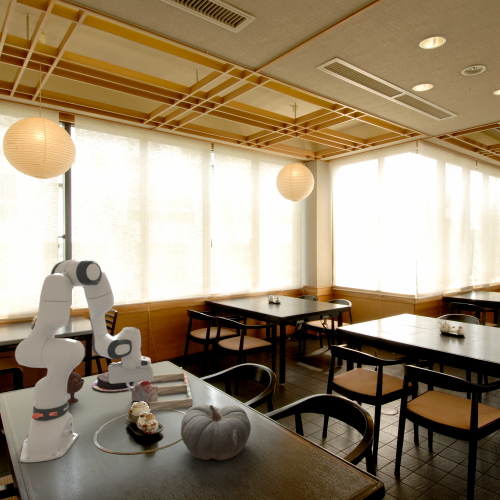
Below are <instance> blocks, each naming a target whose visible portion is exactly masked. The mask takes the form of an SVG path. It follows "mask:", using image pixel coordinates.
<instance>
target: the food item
mask: <svg viewBox="0 0 500 500" xmlns="http://www.w3.org/2000/svg"><path fill="white" fill-rule="evenodd" d="M151 383H152V382H150V380H147V381H143V382H142V381H139V382H137V385H136V386H135V391H131V400H132V401H135V402H137V401H144V402H146V403H147V404H148V405H147V406H149V402H156V401H158V397H159V395H158V387H159V386H157V385H153V384H151ZM132 386H134V384H132Z"/></svg>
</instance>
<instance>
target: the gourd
mask: <svg viewBox="0 0 500 500" xmlns="http://www.w3.org/2000/svg"><path fill="white" fill-rule="evenodd" d="M180 426H181V427H180V438H181V439H182V442H183V444H184V445H185V447H186V449H187V451H188V452H189V453H190V454H191V455H192V456H193V457H195V458H197V459H201V460H204V461H208V460H211V459H215V460H218V461H224V460H225V461H226V460H228V459H231V458H233V457H235V456H236V455H238V454H239V453H241V451H242V450H244V448H245V447H246V444H247V443H248V440H249V437H250V435H251V430H252V427H251V426H252V425H251V422H250V419H249V417H248V415H247V412H246V410H245V409H243V408H241V406H238V405H225V406H223V407H218V408H217V407H216V406H214V405H213V404H194V405H192V407H188V410H187V411H186V412H185V414H184V415H183V417H182V420H181V425H180Z"/></svg>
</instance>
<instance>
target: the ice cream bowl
mask: <svg viewBox="0 0 500 500" xmlns="http://www.w3.org/2000/svg"><path fill="white" fill-rule="evenodd" d="M84 383H85V379H83V378H82V375H81V374H80V373H78V372H75V371H74V370H72V372H71V373H70V376H69V378H68V383H67V394H68V395H70V397H69V399H67V400H68V404H69V405H73V404H77V403H78V402H79V399H78V398H76V397H75V393H78V392H79V391H81V389H83V387H84Z"/></svg>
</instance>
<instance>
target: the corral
mask: <svg viewBox="0 0 500 500" xmlns="http://www.w3.org/2000/svg"><path fill="white" fill-rule="evenodd" d="M176 379H184V380H183V383H184V382H185V383H184V384H183V383H182V384H174V385H173V384H172V385H162V386H158V394H159V395H167V394H166V393H169V394H175V393H174V392H180V393H186V395H187V398H177V399H176V398H175V399H169V400H159V401H158V400H157V401H156V402H149V405H148V406H149V407H150V409H151V410H154V411H157V410H156V409H164V410H169V409H168V408H173V409H180V408H179V407H182V408H190V407H189V406H193V396H192V391H191V389H190V388H191V387H190V384H189V381H188V380H189V379H188V377H187V373H186V372H185V371H184V372H175V373H165V374H154V378H153V380H149V382H151V383H158V382H157V381H162V382H167V381H166V380H173V381H177V380H176ZM185 391H187V392H185ZM149 407H148V408H149Z"/></svg>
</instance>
